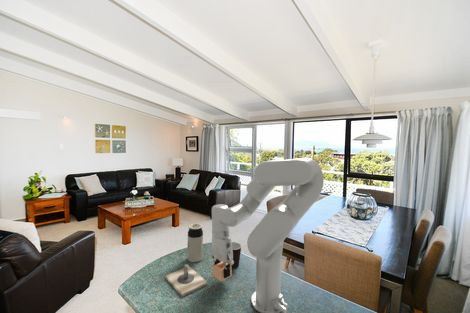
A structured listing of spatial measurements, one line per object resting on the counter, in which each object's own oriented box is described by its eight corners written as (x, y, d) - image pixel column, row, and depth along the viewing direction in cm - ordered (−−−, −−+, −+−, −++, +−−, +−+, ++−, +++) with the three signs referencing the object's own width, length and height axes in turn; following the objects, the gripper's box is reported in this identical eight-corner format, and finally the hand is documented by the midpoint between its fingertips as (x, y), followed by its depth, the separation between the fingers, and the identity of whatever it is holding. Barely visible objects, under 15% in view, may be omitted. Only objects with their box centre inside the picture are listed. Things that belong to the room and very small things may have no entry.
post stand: (207, 284, 93) (207, 268, 92) (182, 297, 85) (182, 279, 84) (188, 268, 105) (189, 254, 104) (165, 277, 97) (165, 262, 96)
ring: (231, 276, 93) (231, 265, 93) (221, 281, 89) (220, 271, 89) (223, 270, 98) (223, 260, 98) (212, 275, 94) (212, 265, 94)
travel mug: (203, 255, 118) (203, 223, 117) (201, 262, 110) (202, 228, 109) (188, 255, 118) (189, 223, 117) (186, 262, 110) (186, 228, 109)
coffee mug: (241, 269, 104) (241, 250, 104) (223, 269, 105) (224, 249, 104) (240, 257, 116) (241, 239, 116) (225, 257, 116) (225, 239, 116)
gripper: (240, 236, 89) (241, 278, 89) (216, 226, 102) (217, 263, 102) (226, 241, 84) (228, 286, 84) (202, 230, 97) (204, 269, 97)
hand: (222, 273), depth 93 cm, fingers closed on ring, 6 cm apart
